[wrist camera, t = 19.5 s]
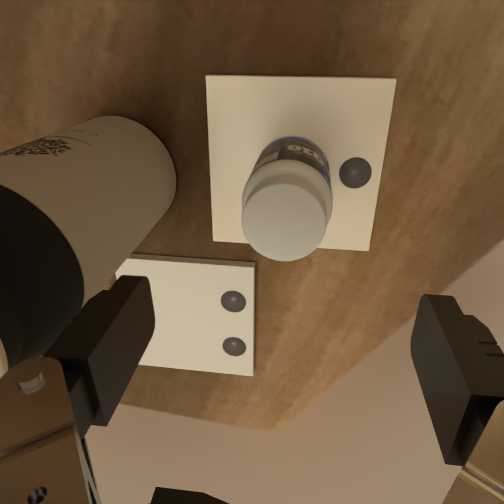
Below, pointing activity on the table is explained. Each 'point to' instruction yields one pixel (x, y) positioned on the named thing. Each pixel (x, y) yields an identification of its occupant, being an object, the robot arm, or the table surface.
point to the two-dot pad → (199, 312)
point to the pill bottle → (287, 199)
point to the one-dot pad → (305, 125)
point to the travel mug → (72, 223)
